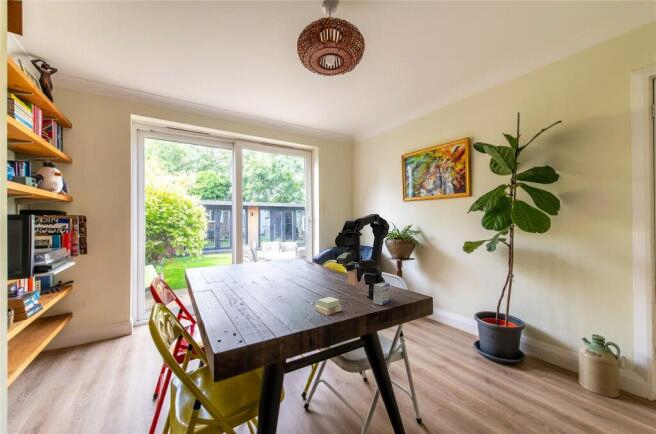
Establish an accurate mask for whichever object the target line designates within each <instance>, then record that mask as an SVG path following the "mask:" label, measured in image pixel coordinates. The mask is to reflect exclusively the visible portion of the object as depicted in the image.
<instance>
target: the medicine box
mask: <svg viewBox="0 0 656 434" xmlns="http://www.w3.org/2000/svg"><path fill="white" fill-rule="evenodd" d="M390 288H391V284H390V283H389V282H386V281H385V282H381V283H378V284H376V285H374V299H373V304H376V305H379V306H383V305H385V304H386V303H389V302H390V298H391V297H390V295H391V294H390V291H391V289H390Z"/></svg>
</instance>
